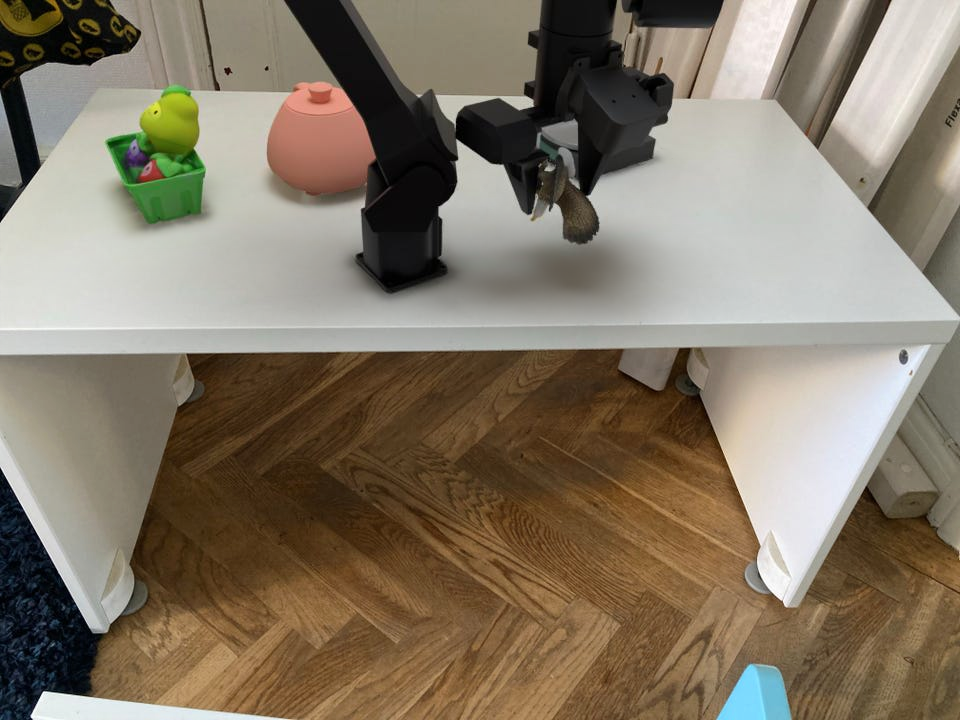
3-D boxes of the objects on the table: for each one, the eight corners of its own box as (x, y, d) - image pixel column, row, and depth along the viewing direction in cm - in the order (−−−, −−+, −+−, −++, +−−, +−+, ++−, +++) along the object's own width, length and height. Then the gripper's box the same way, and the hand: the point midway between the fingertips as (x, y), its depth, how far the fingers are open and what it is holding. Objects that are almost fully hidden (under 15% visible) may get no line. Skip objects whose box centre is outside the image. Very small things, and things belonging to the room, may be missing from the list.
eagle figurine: (484, 196, 75) (534, 227, 68) (520, 123, 73) (575, 147, 66) (545, 225, 79) (597, 256, 72) (580, 156, 78) (637, 182, 71)
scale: (578, 181, 91) (580, 161, 89) (519, 143, 98) (520, 123, 96) (652, 158, 96) (656, 139, 94) (591, 123, 103) (594, 104, 101)
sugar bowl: (291, 215, 83) (279, 118, 76) (251, 157, 92) (237, 66, 86) (402, 190, 88) (400, 98, 81) (353, 137, 97) (348, 50, 90)
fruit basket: (114, 183, 86) (85, 77, 79) (199, 166, 90) (178, 64, 83) (138, 234, 79) (108, 123, 72) (229, 214, 83) (209, 106, 75)
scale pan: (582, 161, 89) (583, 156, 88) (517, 120, 96) (517, 115, 96) (662, 137, 94) (663, 132, 94) (595, 100, 102) (595, 95, 101)
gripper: (545, 83, 54) (526, 278, 64) (737, 37, 63) (694, 216, 73) (453, 31, 61) (449, 215, 71) (638, -4, 70) (611, 165, 80)
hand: (556, 203), depth 73 cm, fingers closed on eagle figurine, 6 cm apart
